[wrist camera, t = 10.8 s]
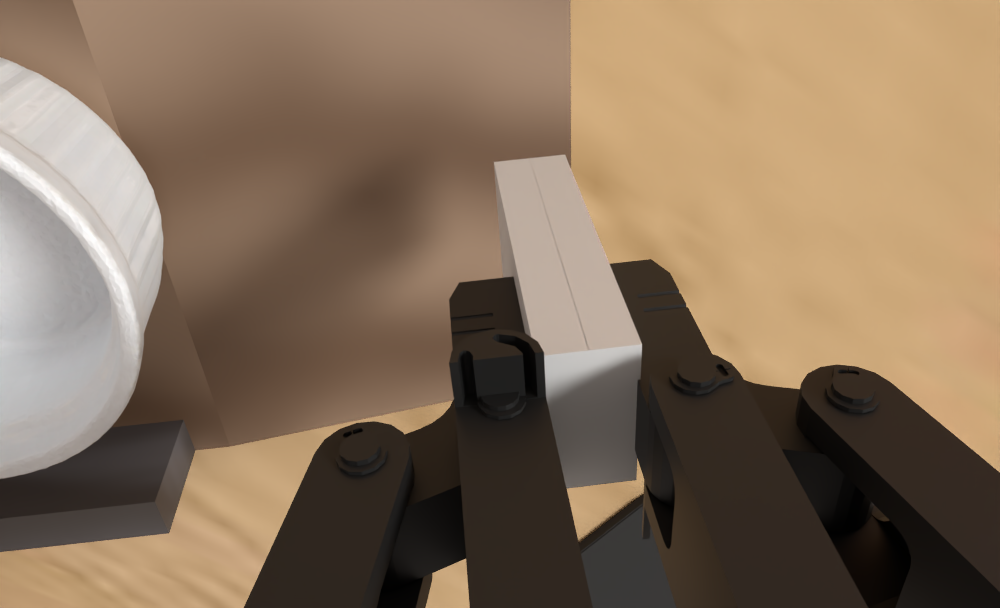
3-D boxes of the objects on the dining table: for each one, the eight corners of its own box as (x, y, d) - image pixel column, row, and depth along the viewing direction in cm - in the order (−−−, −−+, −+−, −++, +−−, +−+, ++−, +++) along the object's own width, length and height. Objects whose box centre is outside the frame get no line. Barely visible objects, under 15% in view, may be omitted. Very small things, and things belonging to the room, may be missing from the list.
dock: (571, 355, 25) (607, 484, 21) (-144, 429, 24) (-273, 582, 20) (569, -248, 16) (632, -255, 12) (-577, -171, 15) (-1005, -147, 11)
